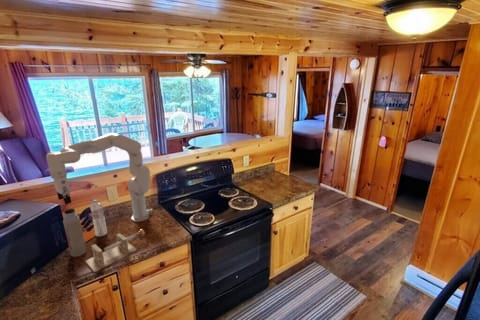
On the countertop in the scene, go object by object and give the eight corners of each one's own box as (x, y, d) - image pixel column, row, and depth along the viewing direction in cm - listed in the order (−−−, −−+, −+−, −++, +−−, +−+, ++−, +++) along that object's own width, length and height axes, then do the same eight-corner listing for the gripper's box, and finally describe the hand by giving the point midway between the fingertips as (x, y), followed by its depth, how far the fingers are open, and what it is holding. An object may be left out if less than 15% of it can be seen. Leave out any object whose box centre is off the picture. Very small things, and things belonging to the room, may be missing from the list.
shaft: (141, 233, 164) (140, 227, 163) (145, 236, 161) (144, 230, 160) (103, 251, 147) (102, 245, 145) (107, 254, 144) (106, 248, 143)
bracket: (126, 242, 161) (124, 229, 158) (136, 250, 154) (134, 236, 151) (85, 262, 144) (82, 248, 141) (94, 272, 136) (91, 257, 133)
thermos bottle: (72, 258, 147) (61, 215, 139) (69, 251, 153) (59, 209, 144) (87, 252, 152) (78, 210, 143) (85, 246, 158) (76, 205, 149)
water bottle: (93, 236, 168) (86, 201, 161) (101, 230, 174) (95, 197, 167) (101, 237, 166) (95, 203, 159) (109, 232, 172) (103, 198, 165)
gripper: (72, 175, 142) (78, 203, 147) (60, 168, 152) (66, 195, 157) (56, 179, 136) (63, 207, 141) (45, 172, 146) (52, 199, 151)
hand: (65, 201), depth 149 cm, fingers open, 9 cm apart
